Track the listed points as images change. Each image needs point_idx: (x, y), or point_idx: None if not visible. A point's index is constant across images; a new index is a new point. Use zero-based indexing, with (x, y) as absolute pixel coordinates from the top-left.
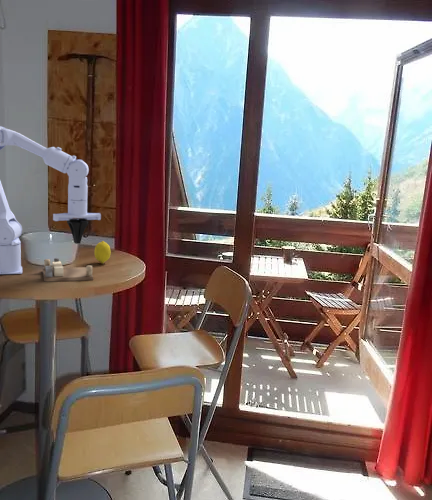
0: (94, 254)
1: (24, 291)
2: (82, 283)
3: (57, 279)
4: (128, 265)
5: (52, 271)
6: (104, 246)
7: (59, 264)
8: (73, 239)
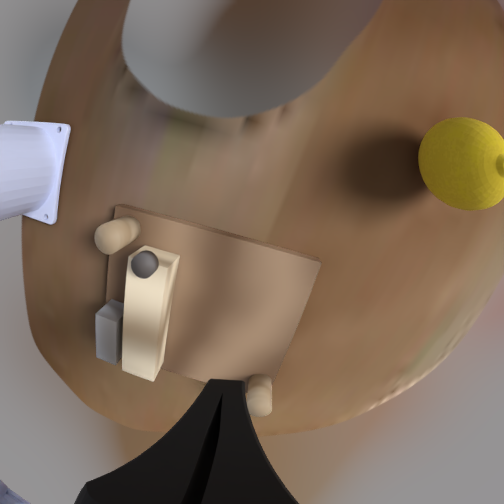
0: (424, 141)
1: (70, 385)
2: None
3: None
4: (487, 243)
5: None
6: (484, 203)
7: (148, 328)
8: (201, 392)
